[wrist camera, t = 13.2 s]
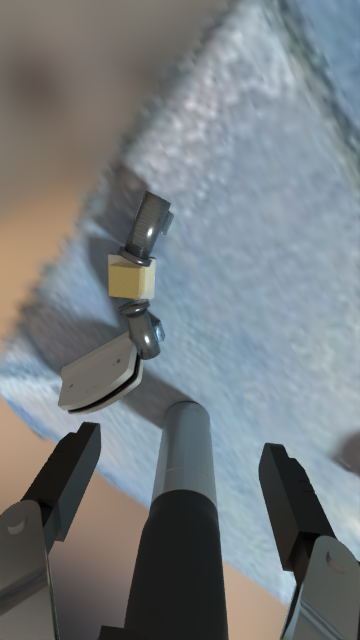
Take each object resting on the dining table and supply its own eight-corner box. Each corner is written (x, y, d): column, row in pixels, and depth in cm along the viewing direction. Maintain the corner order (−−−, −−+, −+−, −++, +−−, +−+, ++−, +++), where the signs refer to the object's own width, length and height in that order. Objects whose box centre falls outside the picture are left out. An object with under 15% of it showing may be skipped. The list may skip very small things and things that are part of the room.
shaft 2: (166, 340, 43) (162, 358, 37) (141, 346, 44) (132, 364, 38) (152, 294, 40) (144, 305, 34) (125, 301, 41) (113, 312, 35)
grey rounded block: (131, 329, 43) (128, 372, 35) (146, 344, 45) (147, 388, 37) (60, 368, 46) (43, 415, 38) (78, 380, 49) (66, 427, 41)
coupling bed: (153, 298, 40) (153, 299, 40) (109, 294, 41) (108, 294, 40) (155, 258, 38) (155, 259, 38) (108, 254, 38) (108, 254, 38)
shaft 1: (147, 193, 35) (137, 185, 29) (176, 208, 35) (173, 203, 29) (126, 250, 38) (113, 253, 32) (153, 263, 38) (146, 268, 32)
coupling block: (145, 264, 38) (139, 268, 34) (144, 292, 40) (138, 299, 36) (118, 261, 38) (108, 265, 34) (117, 289, 40) (108, 295, 36)
